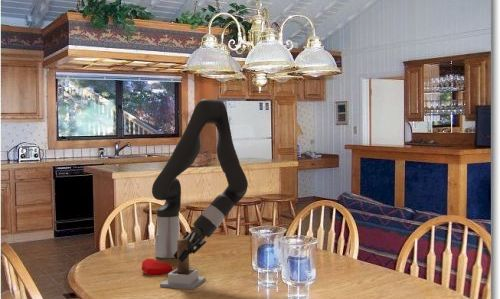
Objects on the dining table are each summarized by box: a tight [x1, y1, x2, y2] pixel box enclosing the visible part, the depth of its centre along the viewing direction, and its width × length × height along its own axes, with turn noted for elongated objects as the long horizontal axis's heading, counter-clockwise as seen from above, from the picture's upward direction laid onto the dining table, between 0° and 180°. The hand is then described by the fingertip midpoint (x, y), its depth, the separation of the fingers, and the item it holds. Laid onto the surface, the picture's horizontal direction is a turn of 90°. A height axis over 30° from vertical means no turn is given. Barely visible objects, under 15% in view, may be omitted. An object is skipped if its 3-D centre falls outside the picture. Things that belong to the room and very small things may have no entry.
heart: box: [141, 258, 174, 276], centre depth 204 cm, size 12×4×10 cm
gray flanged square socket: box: [159, 268, 207, 290], centre depth 190 cm, size 12×12×4 cm
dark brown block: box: [176, 238, 190, 275], centre depth 190 cm, size 4×4×12 cm
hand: (177, 258), depth 189 cm, fingers closed on dark brown block, 4 cm apart
